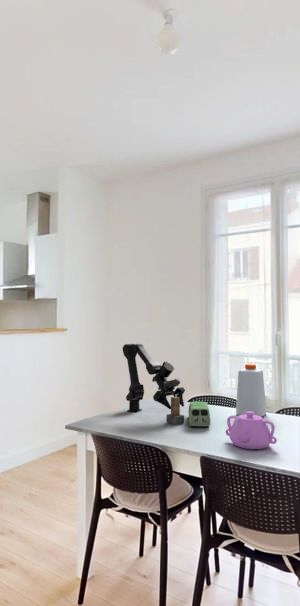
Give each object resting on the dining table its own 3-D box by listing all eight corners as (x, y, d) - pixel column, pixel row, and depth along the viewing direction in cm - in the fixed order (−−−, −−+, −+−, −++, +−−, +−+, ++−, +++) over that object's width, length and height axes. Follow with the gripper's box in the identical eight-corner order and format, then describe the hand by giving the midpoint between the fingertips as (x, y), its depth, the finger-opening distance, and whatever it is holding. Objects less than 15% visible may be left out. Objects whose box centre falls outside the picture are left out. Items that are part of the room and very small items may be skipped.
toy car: (207, 417, 207) (207, 398, 207) (211, 429, 182) (211, 408, 183) (188, 416, 208) (188, 398, 208) (189, 428, 183) (189, 408, 184)
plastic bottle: (261, 418, 202) (261, 366, 204) (234, 415, 209) (233, 365, 211) (267, 413, 215) (266, 364, 217) (241, 410, 222) (241, 362, 224)
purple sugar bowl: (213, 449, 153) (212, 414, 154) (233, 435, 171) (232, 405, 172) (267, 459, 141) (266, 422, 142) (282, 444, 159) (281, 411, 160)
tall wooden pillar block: (166, 422, 195) (166, 397, 195) (174, 420, 198) (174, 395, 199) (175, 425, 189) (175, 399, 190) (184, 423, 193) (184, 397, 194)
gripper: (156, 375, 192) (171, 400, 183) (182, 372, 204) (197, 395, 195) (146, 388, 198) (160, 413, 189) (172, 384, 210) (186, 408, 201)
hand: (177, 407), depth 193 cm, fingers open, 9 cm apart
